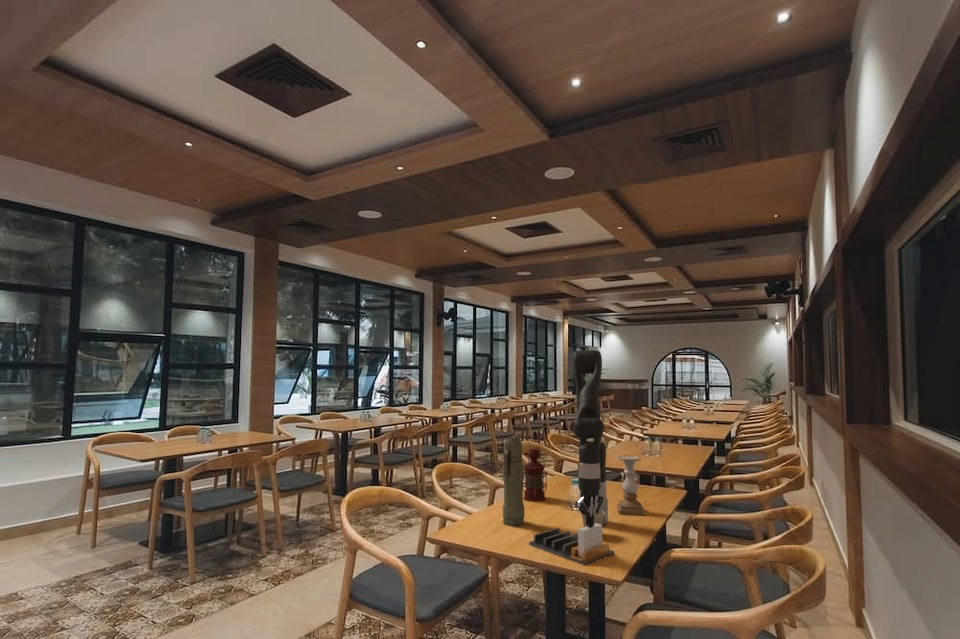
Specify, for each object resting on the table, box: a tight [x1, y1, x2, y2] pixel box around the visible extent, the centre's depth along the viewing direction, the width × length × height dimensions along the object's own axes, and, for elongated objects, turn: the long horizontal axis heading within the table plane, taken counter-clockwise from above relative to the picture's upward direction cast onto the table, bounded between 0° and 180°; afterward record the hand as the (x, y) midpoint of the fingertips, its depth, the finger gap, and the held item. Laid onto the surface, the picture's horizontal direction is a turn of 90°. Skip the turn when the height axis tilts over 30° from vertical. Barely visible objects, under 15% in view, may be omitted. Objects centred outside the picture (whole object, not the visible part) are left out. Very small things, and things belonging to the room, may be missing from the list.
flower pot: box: [579, 510, 605, 527], centre depth 208 cm, size 9×9×9 cm
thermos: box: [502, 436, 525, 527], centre depth 224 cm, size 9×12×35 cm
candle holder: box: [616, 454, 646, 516], centre depth 239 cm, size 11×11×24 cm
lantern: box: [523, 435, 548, 503], centre depth 262 cm, size 12×12×30 cm
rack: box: [528, 527, 616, 566], centre depth 191 cm, size 16×26×4 cm, turn 40°
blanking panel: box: [577, 523, 603, 558], centre depth 185 cm, size 10×2×9 cm, turn 130°
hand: (590, 526), depth 185 cm, fingers closed
